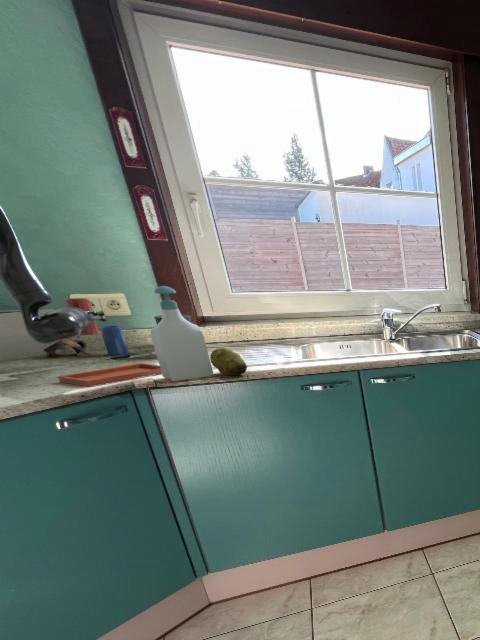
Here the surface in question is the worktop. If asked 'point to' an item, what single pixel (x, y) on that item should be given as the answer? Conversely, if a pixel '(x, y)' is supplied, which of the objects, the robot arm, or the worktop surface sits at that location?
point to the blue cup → (114, 341)
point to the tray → (111, 374)
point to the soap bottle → (179, 343)
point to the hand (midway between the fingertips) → (83, 314)
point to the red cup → (84, 306)
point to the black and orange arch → (76, 345)
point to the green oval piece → (228, 362)
